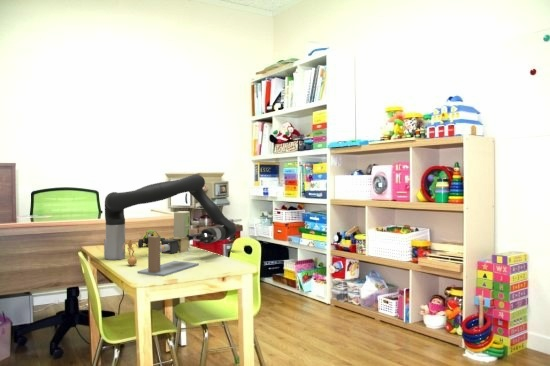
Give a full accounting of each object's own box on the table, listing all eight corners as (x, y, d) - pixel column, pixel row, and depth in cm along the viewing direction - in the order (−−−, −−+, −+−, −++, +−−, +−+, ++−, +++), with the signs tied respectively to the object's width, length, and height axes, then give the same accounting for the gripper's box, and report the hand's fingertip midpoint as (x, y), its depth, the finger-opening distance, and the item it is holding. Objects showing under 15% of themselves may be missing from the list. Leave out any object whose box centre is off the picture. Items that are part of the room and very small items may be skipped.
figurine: (125, 267, 210) (125, 241, 210) (120, 265, 215) (119, 239, 215) (142, 265, 216) (142, 239, 216) (136, 263, 221) (136, 238, 220)
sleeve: (169, 251, 213) (169, 238, 212) (177, 250, 218) (177, 236, 218) (180, 253, 210) (180, 239, 210) (188, 251, 215) (188, 237, 215)
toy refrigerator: (185, 249, 259) (185, 212, 259) (173, 249, 261) (173, 212, 260) (191, 247, 267) (191, 211, 267) (179, 247, 269) (179, 211, 268)
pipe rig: (137, 273, 199) (137, 236, 198) (174, 262, 223) (174, 229, 222) (163, 276, 193) (163, 238, 193) (198, 265, 217) (198, 231, 216)
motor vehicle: (165, 243, 283) (165, 226, 282) (156, 249, 263) (156, 230, 263) (146, 243, 283) (146, 226, 283) (136, 248, 264) (136, 230, 263)
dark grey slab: (161, 253, 207) (161, 240, 207) (166, 252, 211) (167, 239, 211) (172, 254, 205) (172, 241, 205) (177, 253, 208) (177, 240, 208)
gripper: (199, 227, 242) (180, 231, 227) (222, 228, 236) (205, 232, 221) (199, 241, 242) (180, 246, 227) (222, 243, 236) (205, 248, 221)
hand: (193, 239), depth 224 cm, fingers open, 8 cm apart
